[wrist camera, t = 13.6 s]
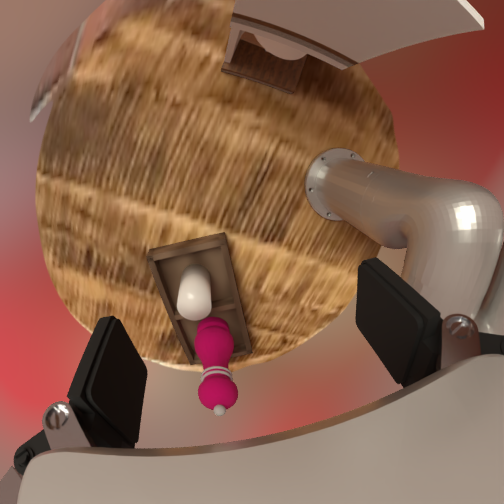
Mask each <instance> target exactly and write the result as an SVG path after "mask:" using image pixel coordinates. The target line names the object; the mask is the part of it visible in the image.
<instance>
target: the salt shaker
mask: <svg viewBox="0 0 504 504" xmlns="http://www.w3.org/2000/svg"><path fill="white" fill-rule="evenodd" d="M177 309H178V312H179V313H180V315H181V316H183V317H184V318H186V319H188V320H194V321H196V320H201V319H204V318H205V317H207V316H208V315H209V313H210V311H211V283H210V273H209V271H208V269H207V268H206V267H204V266H202V265H200V264H191V265H189V266H187V267H186V268H185V269H184V270H183V272H182V275H181V281H180V287H179V294H178V300H177Z"/></svg>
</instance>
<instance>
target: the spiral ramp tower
mask: <svg viewBox="0 0 504 504" xmlns="http://www.w3.org/2000/svg"><path fill="white" fill-rule="evenodd" d="M230 27H231V32H230V37H229V41H228V46H227V50H226V55H225V60H224V63H223V66H222V68H221V71H222V72H226V73H229V74H233V75H236V76H240V77H243V78H246V79H249V80H253V81H256V82H259V83H262V84H265V85H268V86H270V87H273V88H276V89H279V90H281V91H284V92H287V93H289V94H292V93H294V92H295V90H296V87H297V84H298V81H299V78H300V75H301V72H302V70H303V67H304V64H305V61H306V58H307V55H308V54H309V55H312V56H314V57H316V58H318V59H320V60H323V61H325V62H327V63H329V64H331V65H333V66H335V67H337V68H339V69H341V70H343V69H346V68H348V67H350V66H353V65H355V64H358V63H360V62H363V61H365V60H368V59H371V58H374V57H376V56H379V55H382V54H385V53H388V52H391V51H394V50H397V49H400V48H403V47H407V46H410V45H413V44H417V43H420V42H424V41H428V40H432V39H436V38H440V37H444V36H449V35H454V34H458V33H463V32H470V31H476V30H483V29H484V19H483V18H482V17H481V16H480V15H479V14H478V12H477V11H476V10H475V9H474V8H473V7H472V6H471V5H470V4H469V3H468V2H467V1H466V0H236V2H235V6H234V10H233V14H232V19H231V23H230Z"/></svg>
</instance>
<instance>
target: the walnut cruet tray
mask: <svg viewBox="0 0 504 504" xmlns="http://www.w3.org/2000/svg"><path fill="white" fill-rule="evenodd" d="M146 257H147V260H148V263H149V266H150V269H151V271H152V274H153V277H154V279H155V282H156V285H157V287H158V290H159V293H160V295H161V298H162V300H163V303H164V305H165V308H166V310H167V313H168V315H169V318H170V320H171V322H172V325H173V327H174V329H175V332H176V334H177V336H178V338H179V341H180V343H181V345H182V347H183V349H184V352H185V354H186V356H187V358H188V360H189V362H190V364H191V365H193V364H199V363H202V362H201V360H200V359H199V357H198V355H197V353H196V351H195V346H194V340H195V337H196V335H197V326H198V324H199V323H200V322H201V321H202V320H203V319H201V320H196V321H194V320H188V319H186V318H184V317H183V316H181V315H180V313H179V312H178V309H177V300H178V294H179V287H180V281H181V275H182V272H183V270H184V269H185V268H186V267H187V266H189V265H191V264H200V265H202V266H204V267H206V268H207V269H208V271H209V273H210V283H211V311H210V313H209V315H208V316H207V317H205V318H208V317H219V318H221V319H223V320H225V321H226V322H227V323H228V325H229V330H230V334H231V335H232V337H233V340H234V349H233V353H232V355H231V357H230V358H232V357H236V356H241V355H246V354H251V353H253V352H252V348H251V343H250V339H249V335H248V331H247V327H246V323H245V319H244V315H243V310H242V306H241V302H240V298H239V294H238V289H237V285H236V281H235V276H234V272H233V268H232V263H231V259H230V255H229V250H228V246H227V241H226V237H225V232H223V233H219V234H214V235H210V236H205V237H201V238H196V239H192V240H188V241H183V242H179V243H175V244H170V245H166V246H162V247H158V248H153V249H150V250H149V252H148V254H147V256H146ZM205 318H204V319H205Z"/></svg>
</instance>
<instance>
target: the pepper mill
mask: <svg viewBox="0 0 504 504" xmlns="http://www.w3.org/2000/svg"><path fill="white" fill-rule="evenodd" d="M194 346H195V351H196V353H197V355H198V357H199V359H200V360H201V362H202V364H203V369H204V371H203V372H202V373H201V384H200V386H199V389H198V396H199V399H200V401H201V403H202V404H203V405H204V406H205V407H207V408H209V409H211V410H214V413H215V414H216V415H217V416H222V415H224V414H225V412H226V409H228V408H230V407H231V406H233V405H234V404H235V402H236V400H237V398H238V390H237V386H236V385H235V383H234V382H233V378H232V373H231V371H230V370H229V369H228V363H229V359H230V357H231V355H232V353H233V349H234V340H233V337H232V335H231V334H230V330H229V325H228V323H227V322H226V321H225V320H223V319H221V318H219V317H208V318H205V319H203V320H202V321H201V322H200V323H199V324H198V326H197V335H196V337H195V340H194Z"/></svg>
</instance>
